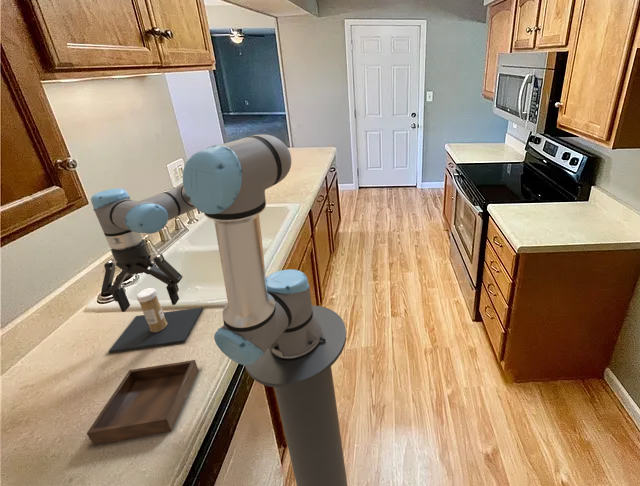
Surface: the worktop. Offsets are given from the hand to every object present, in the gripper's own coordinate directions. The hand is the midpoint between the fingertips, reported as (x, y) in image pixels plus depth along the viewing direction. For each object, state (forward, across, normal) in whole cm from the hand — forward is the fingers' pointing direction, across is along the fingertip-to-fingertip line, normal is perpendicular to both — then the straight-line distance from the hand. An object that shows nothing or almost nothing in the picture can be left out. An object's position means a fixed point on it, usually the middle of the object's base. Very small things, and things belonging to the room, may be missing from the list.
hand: (151, 305), depth 98 cm
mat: (+9, 0, 0) cm, 9 cm away
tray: (+10, +10, -26) cm, 29 cm away
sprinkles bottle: (+9, 0, 0) cm, 9 cm away
